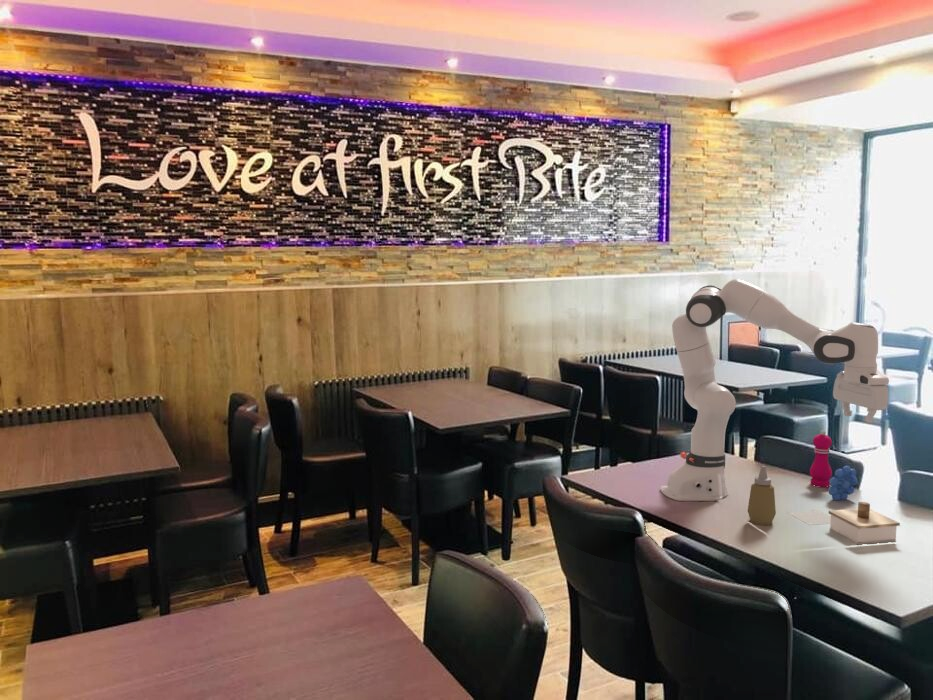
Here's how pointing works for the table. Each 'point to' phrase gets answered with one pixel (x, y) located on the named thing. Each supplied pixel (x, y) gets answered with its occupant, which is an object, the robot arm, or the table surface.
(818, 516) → the mat
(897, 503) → the table surface
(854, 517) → the lid
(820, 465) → the pepper mill
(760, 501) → the squeeze bottle
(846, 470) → the grapes
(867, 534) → the white open box
